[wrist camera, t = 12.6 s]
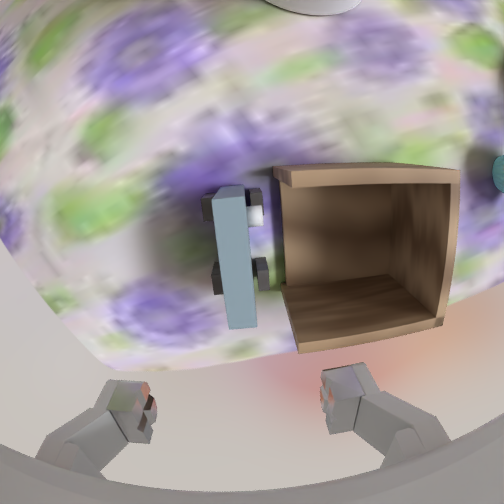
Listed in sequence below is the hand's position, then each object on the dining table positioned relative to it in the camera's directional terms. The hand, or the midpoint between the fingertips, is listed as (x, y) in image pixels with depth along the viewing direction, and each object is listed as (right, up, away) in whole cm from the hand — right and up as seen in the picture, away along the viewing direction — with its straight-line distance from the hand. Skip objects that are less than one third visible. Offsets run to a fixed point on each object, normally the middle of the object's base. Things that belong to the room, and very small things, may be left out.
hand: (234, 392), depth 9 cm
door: (-1, +6, +20) cm, 21 cm away
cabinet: (+6, +7, +20) cm, 22 cm away
